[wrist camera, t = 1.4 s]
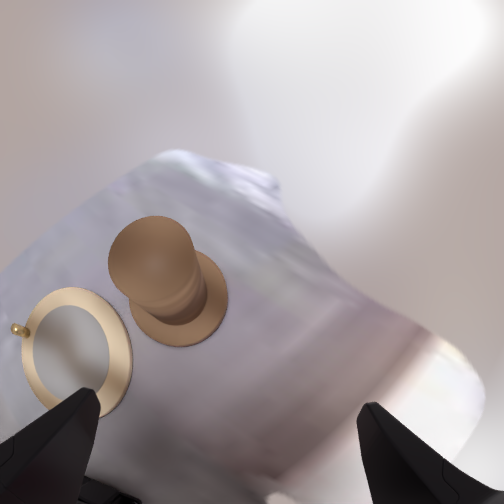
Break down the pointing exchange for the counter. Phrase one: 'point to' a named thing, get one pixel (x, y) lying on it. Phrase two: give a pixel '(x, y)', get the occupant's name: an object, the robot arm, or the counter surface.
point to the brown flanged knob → (168, 282)
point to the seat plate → (76, 348)
